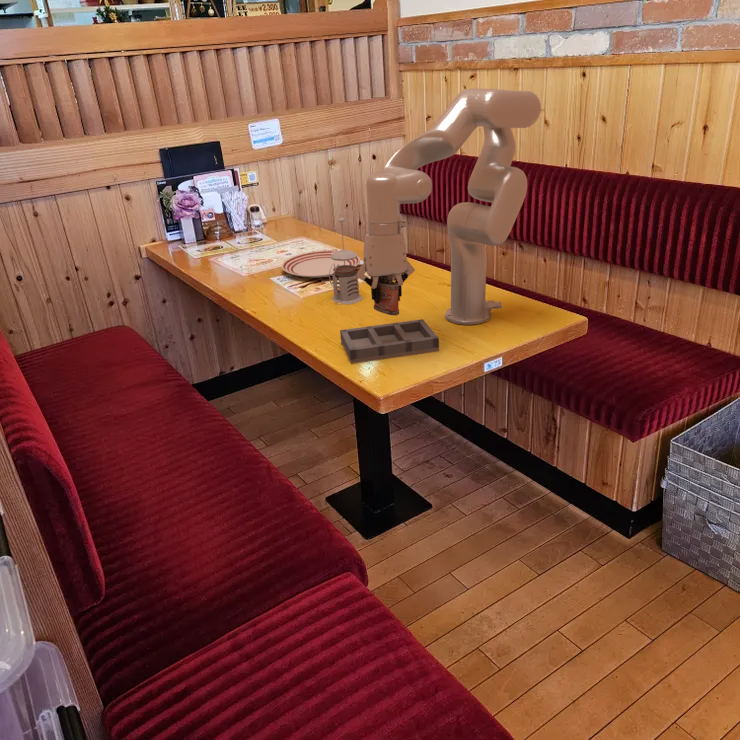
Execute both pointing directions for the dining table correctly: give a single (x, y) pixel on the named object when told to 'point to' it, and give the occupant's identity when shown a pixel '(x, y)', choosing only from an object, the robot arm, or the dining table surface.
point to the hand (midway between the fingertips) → (386, 300)
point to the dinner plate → (315, 264)
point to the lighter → (387, 295)
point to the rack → (389, 341)
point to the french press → (346, 284)
